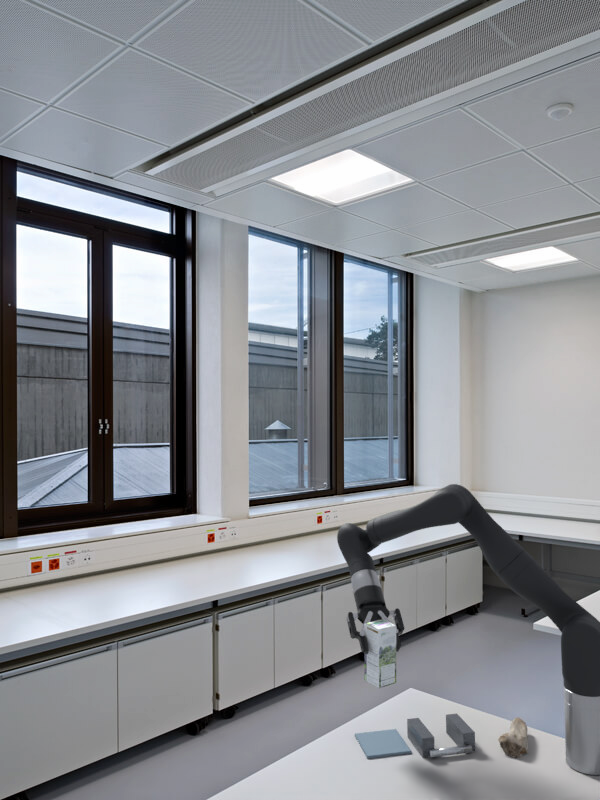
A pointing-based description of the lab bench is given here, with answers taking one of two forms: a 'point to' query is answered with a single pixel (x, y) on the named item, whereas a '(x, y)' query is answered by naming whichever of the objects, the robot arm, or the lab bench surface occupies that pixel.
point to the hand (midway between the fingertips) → (382, 651)
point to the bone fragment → (515, 739)
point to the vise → (453, 728)
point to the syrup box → (380, 653)
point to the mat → (382, 743)
